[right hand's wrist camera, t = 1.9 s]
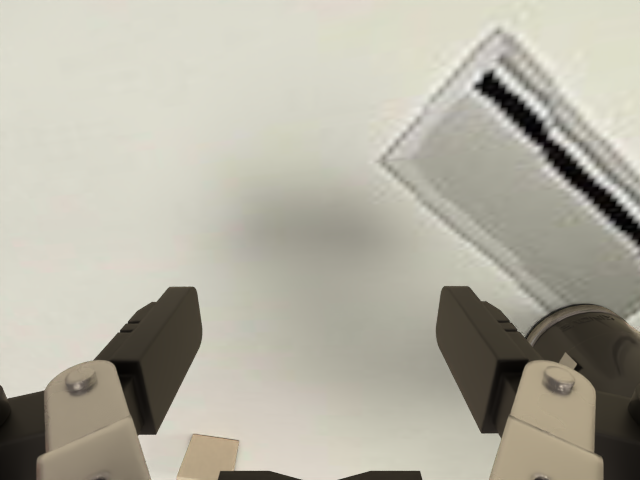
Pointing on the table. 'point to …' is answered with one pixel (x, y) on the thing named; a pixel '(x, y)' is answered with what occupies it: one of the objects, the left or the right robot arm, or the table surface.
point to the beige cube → (208, 458)
